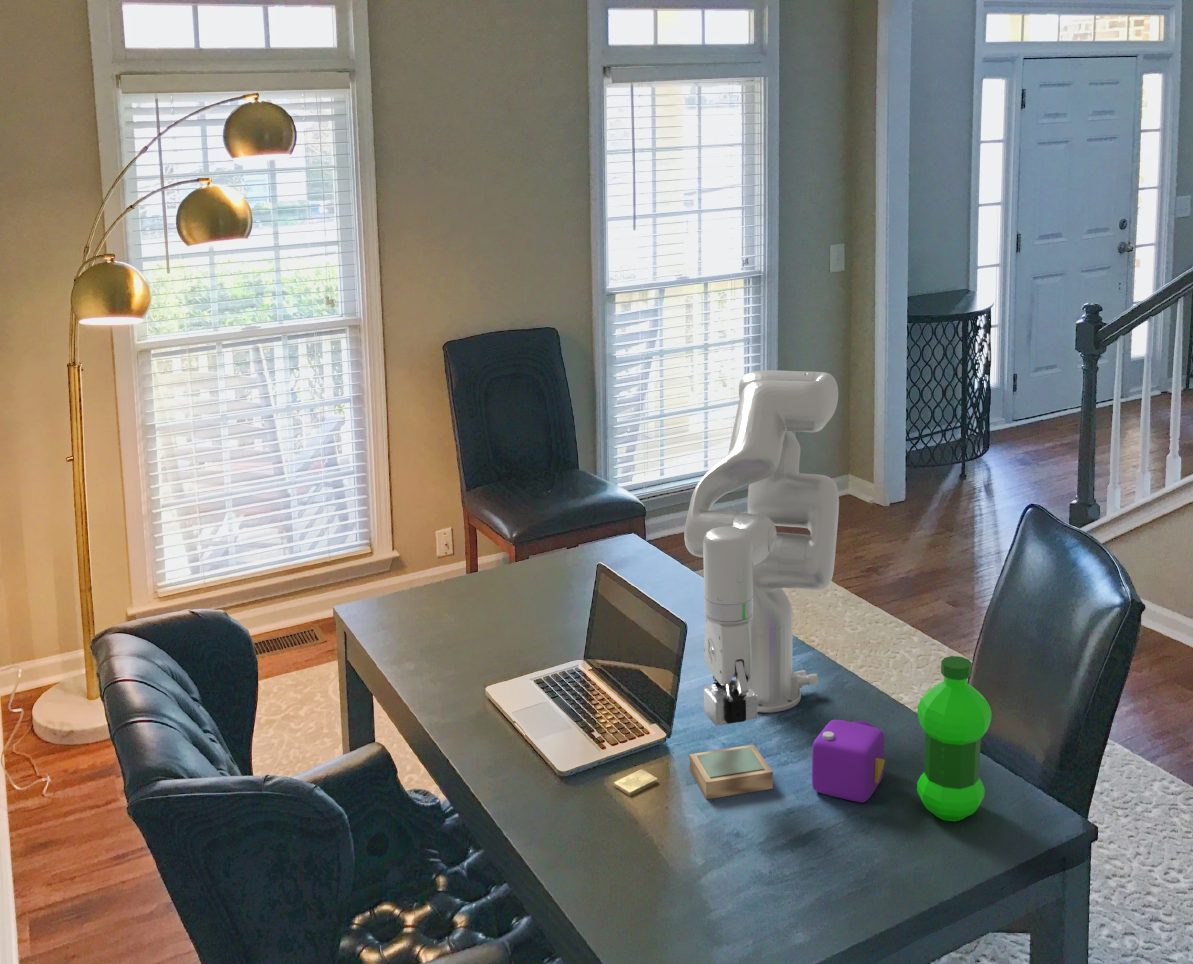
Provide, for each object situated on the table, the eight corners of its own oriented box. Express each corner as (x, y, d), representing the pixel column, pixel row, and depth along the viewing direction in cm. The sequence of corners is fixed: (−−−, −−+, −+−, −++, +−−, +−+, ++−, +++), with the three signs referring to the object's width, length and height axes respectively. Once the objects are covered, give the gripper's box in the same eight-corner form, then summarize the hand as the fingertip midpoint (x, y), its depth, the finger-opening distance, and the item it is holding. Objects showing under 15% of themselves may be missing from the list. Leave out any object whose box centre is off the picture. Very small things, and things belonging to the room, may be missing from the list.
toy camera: (889, 764, 208) (891, 709, 204) (879, 809, 195) (880, 751, 192) (823, 756, 211) (824, 701, 208) (808, 799, 199) (809, 742, 196)
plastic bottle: (941, 786, 201) (947, 641, 193) (998, 813, 193) (1008, 663, 185) (900, 810, 195) (905, 661, 187) (958, 839, 187) (966, 685, 179)
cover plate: (641, 775, 208) (641, 769, 208) (658, 785, 205) (657, 778, 205) (613, 789, 205) (613, 782, 205) (629, 799, 202) (629, 792, 202)
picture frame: (753, 760, 210) (753, 743, 209) (772, 788, 202) (772, 770, 201) (689, 770, 208) (689, 753, 207) (706, 799, 200) (705, 781, 199)
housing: (715, 726, 198) (715, 696, 197) (703, 711, 203) (703, 683, 201) (757, 718, 200) (757, 689, 199) (744, 704, 205) (744, 676, 203)
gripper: (689, 589, 203) (691, 692, 209) (722, 631, 187) (723, 742, 193) (734, 584, 205) (734, 686, 210) (770, 625, 189) (770, 735, 194)
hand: (729, 711), depth 201 cm, fingers closed on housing, 5 cm apart
